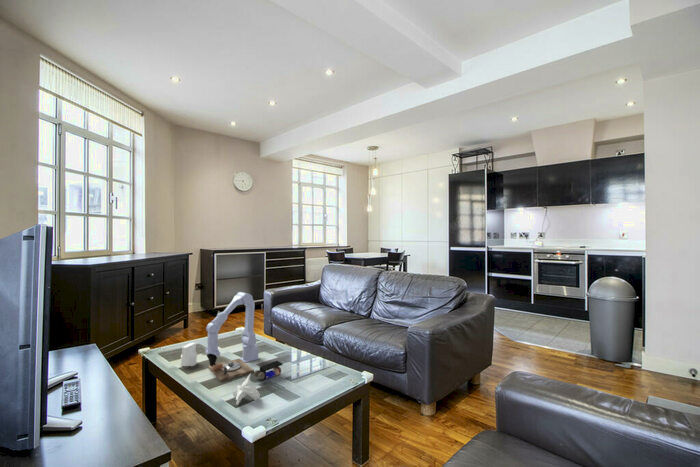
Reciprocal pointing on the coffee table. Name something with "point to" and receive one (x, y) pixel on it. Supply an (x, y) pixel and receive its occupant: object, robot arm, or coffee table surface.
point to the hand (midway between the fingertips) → (212, 365)
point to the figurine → (246, 391)
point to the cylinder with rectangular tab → (189, 355)
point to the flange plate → (230, 366)
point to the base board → (226, 375)
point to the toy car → (264, 368)
